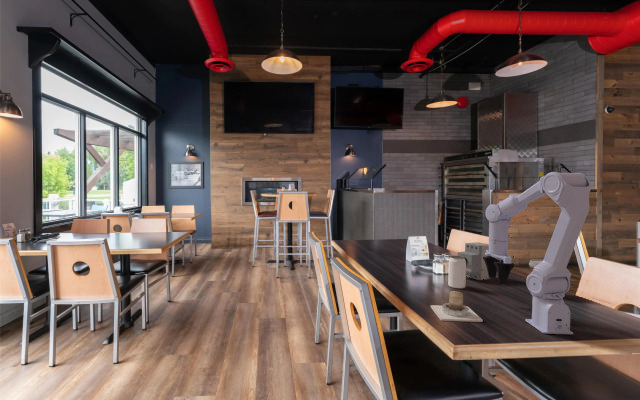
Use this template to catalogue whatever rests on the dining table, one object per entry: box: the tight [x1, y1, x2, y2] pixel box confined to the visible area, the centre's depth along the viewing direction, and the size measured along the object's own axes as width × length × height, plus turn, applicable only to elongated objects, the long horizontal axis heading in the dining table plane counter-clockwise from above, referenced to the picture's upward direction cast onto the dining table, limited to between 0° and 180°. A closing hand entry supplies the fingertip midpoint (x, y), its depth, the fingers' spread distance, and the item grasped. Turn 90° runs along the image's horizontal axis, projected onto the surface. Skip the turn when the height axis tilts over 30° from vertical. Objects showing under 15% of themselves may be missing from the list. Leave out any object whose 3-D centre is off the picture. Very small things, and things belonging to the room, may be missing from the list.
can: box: [447, 255, 467, 290], centre depth 139 cm, size 6×6×12 cm
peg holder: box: [430, 302, 483, 323], centre depth 108 cm, size 12×12×2 cm
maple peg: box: [448, 290, 464, 310], centre depth 108 cm, size 4×4×6 cm
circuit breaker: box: [457, 242, 490, 281], centre depth 154 cm, size 8×14×15 cm, turn 115°
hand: (497, 280), depth 117 cm, fingers open, 7 cm apart
